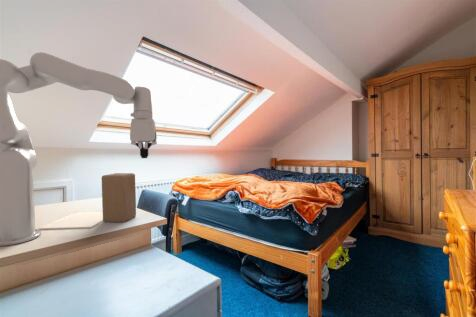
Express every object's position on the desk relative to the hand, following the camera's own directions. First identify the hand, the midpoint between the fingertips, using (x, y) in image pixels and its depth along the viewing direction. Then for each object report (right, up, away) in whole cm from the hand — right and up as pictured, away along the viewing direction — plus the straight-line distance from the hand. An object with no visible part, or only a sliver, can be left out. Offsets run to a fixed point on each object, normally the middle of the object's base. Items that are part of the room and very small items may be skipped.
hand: (144, 157), depth 101 cm
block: (-11, -27, 0) cm, 29 cm away
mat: (-27, -27, -1) cm, 38 cm away
